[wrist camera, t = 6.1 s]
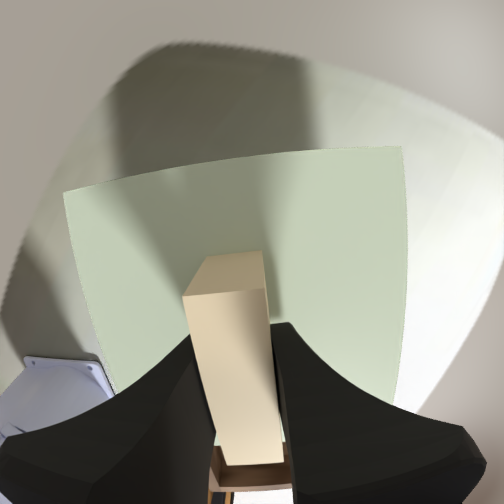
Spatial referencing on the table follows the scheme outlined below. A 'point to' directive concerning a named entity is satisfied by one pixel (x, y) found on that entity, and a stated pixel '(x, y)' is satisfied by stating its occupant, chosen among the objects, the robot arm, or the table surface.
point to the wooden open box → (248, 474)
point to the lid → (249, 275)
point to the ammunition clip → (220, 497)
